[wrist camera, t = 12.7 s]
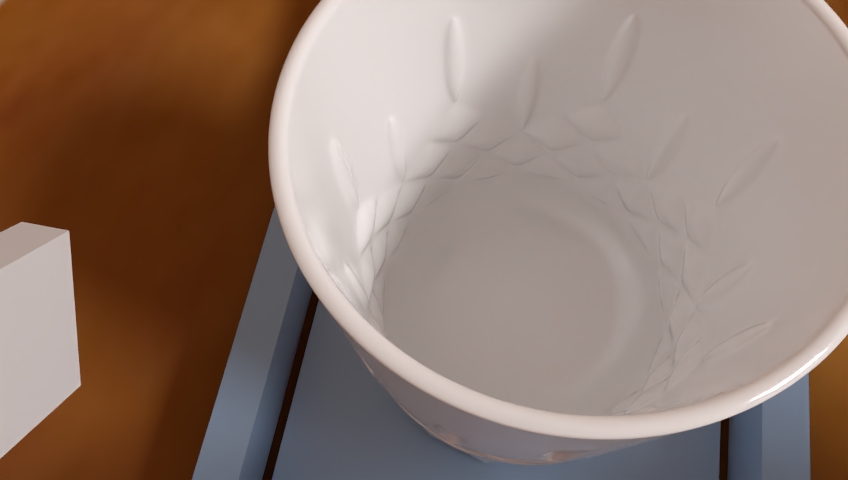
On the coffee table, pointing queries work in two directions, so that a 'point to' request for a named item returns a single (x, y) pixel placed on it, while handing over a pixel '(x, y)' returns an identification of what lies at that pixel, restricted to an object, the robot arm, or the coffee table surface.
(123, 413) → the coffee table surface
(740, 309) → the white cup
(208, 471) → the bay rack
